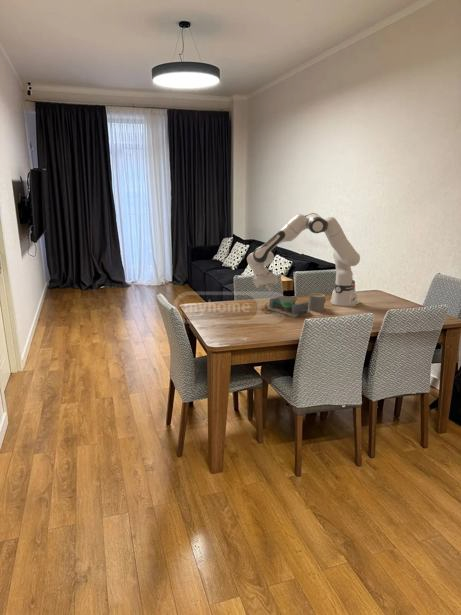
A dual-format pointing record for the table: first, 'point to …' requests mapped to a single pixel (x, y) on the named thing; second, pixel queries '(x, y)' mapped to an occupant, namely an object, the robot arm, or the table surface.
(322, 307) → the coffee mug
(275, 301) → the vise free jaw
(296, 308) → the vise
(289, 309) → the food container
